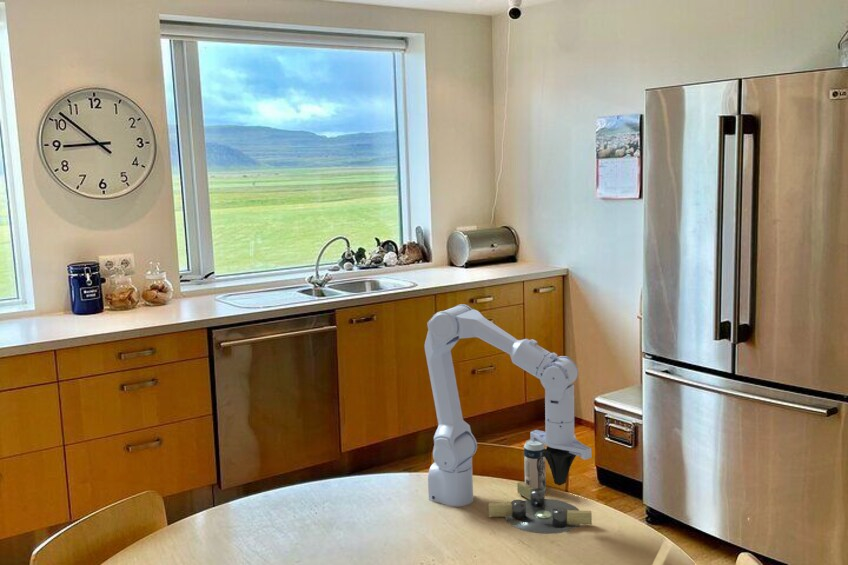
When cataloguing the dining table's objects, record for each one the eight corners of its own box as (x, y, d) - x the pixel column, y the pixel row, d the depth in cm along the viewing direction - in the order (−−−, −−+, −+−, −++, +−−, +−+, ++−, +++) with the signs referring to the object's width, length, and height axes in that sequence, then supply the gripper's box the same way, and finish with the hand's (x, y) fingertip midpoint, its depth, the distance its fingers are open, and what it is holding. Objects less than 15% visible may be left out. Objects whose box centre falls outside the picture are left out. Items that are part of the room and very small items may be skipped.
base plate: (492, 529, 156) (492, 522, 156) (522, 498, 170) (522, 492, 169) (568, 545, 148) (567, 538, 148) (592, 512, 162) (592, 505, 161)
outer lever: (552, 527, 153) (552, 513, 152) (552, 520, 156) (552, 507, 155) (591, 528, 152) (591, 515, 151) (590, 521, 155) (590, 508, 154)
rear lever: (547, 504, 163) (547, 491, 163) (536, 507, 162) (536, 495, 161) (525, 491, 170) (524, 480, 169) (514, 495, 168) (514, 483, 168)
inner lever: (524, 511, 160) (524, 499, 160) (527, 518, 157) (526, 505, 157) (488, 513, 160) (487, 501, 159) (489, 520, 157) (489, 507, 157)
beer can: (545, 498, 169) (544, 446, 168) (524, 497, 170) (522, 445, 169) (546, 489, 174) (545, 438, 172) (525, 488, 175) (524, 438, 173)
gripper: (601, 422, 149) (601, 488, 151) (546, 406, 160) (547, 467, 162) (577, 431, 145) (578, 498, 147) (522, 413, 156) (523, 476, 158)
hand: (560, 483), depth 154 cm, fingers closed
